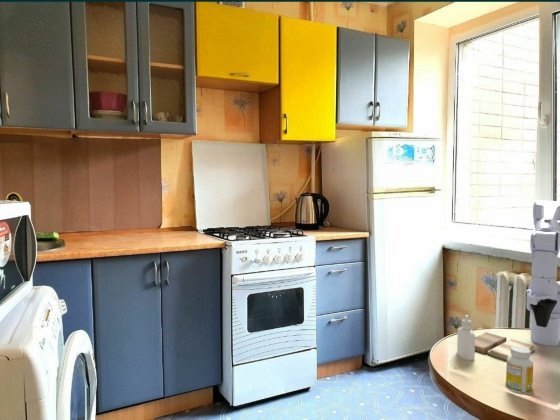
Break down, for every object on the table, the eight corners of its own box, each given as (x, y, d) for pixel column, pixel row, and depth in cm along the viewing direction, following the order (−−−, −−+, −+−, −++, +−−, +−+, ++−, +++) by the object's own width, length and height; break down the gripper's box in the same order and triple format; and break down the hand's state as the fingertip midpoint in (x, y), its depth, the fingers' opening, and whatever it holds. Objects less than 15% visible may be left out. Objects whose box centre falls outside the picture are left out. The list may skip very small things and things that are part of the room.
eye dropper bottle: (474, 356, 116) (475, 313, 115) (474, 364, 111) (475, 319, 110) (457, 353, 118) (458, 311, 117) (456, 361, 113) (457, 317, 112)
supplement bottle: (510, 394, 95) (511, 352, 95) (502, 383, 100) (503, 344, 100) (536, 396, 94) (538, 354, 94) (526, 385, 99) (528, 345, 99)
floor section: (484, 338, 129) (484, 331, 129) (535, 353, 118) (536, 345, 118) (461, 349, 121) (461, 341, 121) (513, 366, 110) (514, 357, 109)
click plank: (508, 343, 123) (508, 338, 123) (533, 350, 118) (534, 345, 118) (487, 354, 115) (487, 348, 115) (513, 362, 110) (513, 357, 110)
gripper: (538, 270, 120) (536, 317, 121) (516, 277, 111) (514, 327, 112) (566, 274, 114) (564, 323, 115) (545, 282, 105) (543, 335, 106)
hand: (541, 326), depth 113 cm, fingers closed
